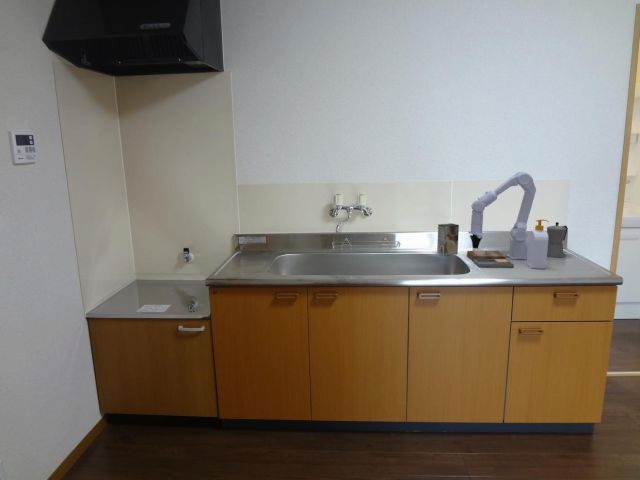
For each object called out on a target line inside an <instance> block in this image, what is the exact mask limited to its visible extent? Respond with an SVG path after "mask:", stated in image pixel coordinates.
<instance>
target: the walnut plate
mask: <svg viewBox="0 0 640 480" xmlns="http://www.w3.org/2000/svg"><path fill="white" fill-rule="evenodd" d="M472 251H473V250H467V251H466V257H467V258H468V259H469V260H470V261H472V262H473V263H474V259H507V256H506V255H504V254H503V253H502V252H500V251H499V250H485V254H474V253H473V252H472Z"/></svg>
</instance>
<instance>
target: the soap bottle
mask: <svg viewBox="0 0 640 480" xmlns="http://www.w3.org/2000/svg"><path fill="white" fill-rule="evenodd" d="M535 221H536V223H537V222H538V224H537V225H535V226H534V227H535V228H534V230H531V231H529V234H528V240H527V241H528V252H527V259H526V265H527V266H528V267H529V268H530V269H539V270H540V269H541V270H543V269H545V270H546V267H547V257H548V256H547V249H548V234H547V230H544V227H545V226H544V225H542V222H547V223H549V222H550V220H549V221H548V220H546V219H537V220H535Z"/></svg>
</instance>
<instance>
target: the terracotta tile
mask: <svg viewBox="0 0 640 480" xmlns="http://www.w3.org/2000/svg"><path fill="white" fill-rule="evenodd" d="M507 260H508V259H507ZM507 260H505V259H495V260H494V263H495V264H508V261H509V260H508V261H507Z"/></svg>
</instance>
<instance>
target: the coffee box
mask: <svg viewBox="0 0 640 480" xmlns="http://www.w3.org/2000/svg"><path fill="white" fill-rule="evenodd" d="M437 225H438V226H437V251H436V254H438V255H441V256H450V255H451V256H453V255H458V254H459V253H458V252H459V251H458V250H459V232H460V231H459V230H460V229H459V228H460V225H459V224H457V223H440V224H437Z"/></svg>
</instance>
